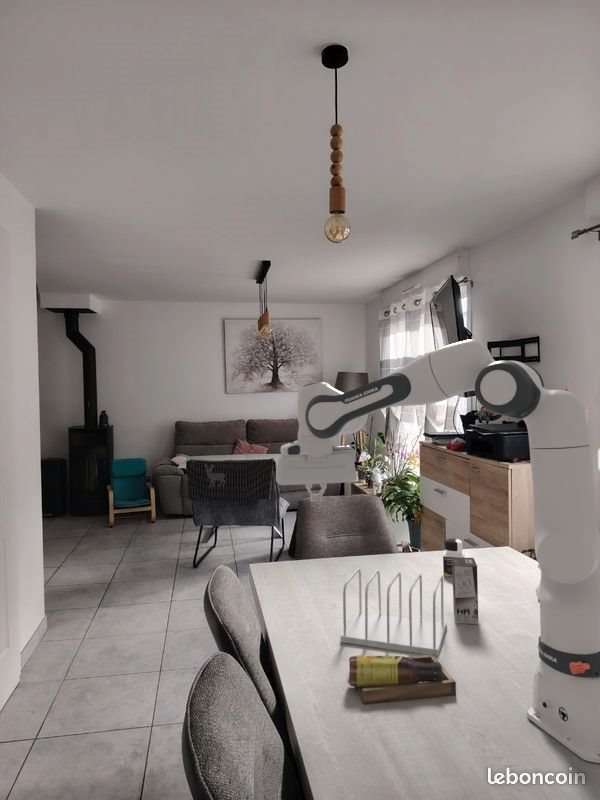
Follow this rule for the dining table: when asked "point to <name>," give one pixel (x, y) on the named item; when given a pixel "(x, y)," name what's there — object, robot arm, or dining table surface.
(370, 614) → the file sorter
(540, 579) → the seated beast figurine
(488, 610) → the dining table surface
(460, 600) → the coffee box
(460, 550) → the white plastic bottle
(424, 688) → the wooden tray
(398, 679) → the sauce bottle
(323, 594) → the dining table surface
